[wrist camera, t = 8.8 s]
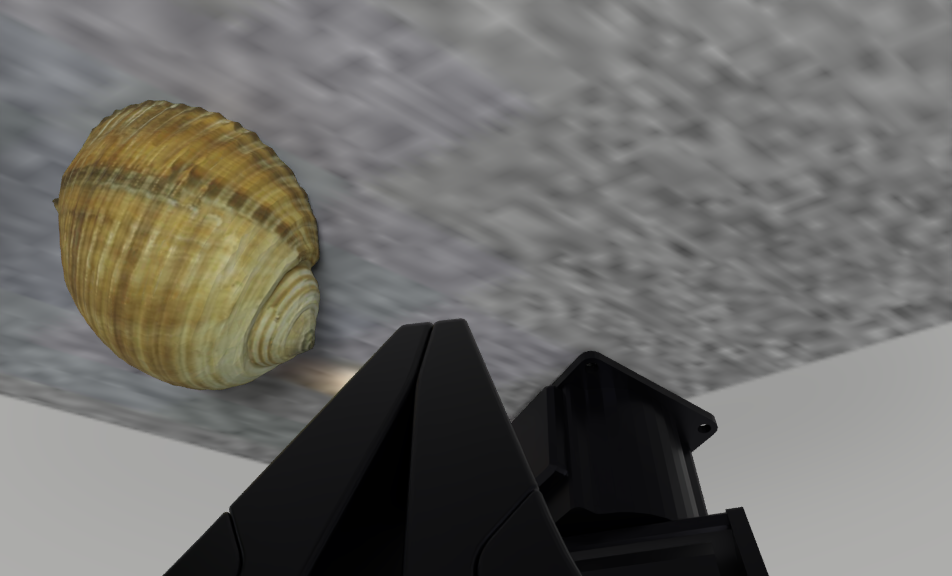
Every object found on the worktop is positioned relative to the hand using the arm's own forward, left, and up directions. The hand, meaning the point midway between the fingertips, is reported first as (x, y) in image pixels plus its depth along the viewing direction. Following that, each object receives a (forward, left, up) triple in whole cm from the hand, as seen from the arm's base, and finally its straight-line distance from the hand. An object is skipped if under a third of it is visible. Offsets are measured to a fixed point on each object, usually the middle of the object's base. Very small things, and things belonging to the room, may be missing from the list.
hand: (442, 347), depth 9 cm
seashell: (+5, +10, -13) cm, 17 cm away
